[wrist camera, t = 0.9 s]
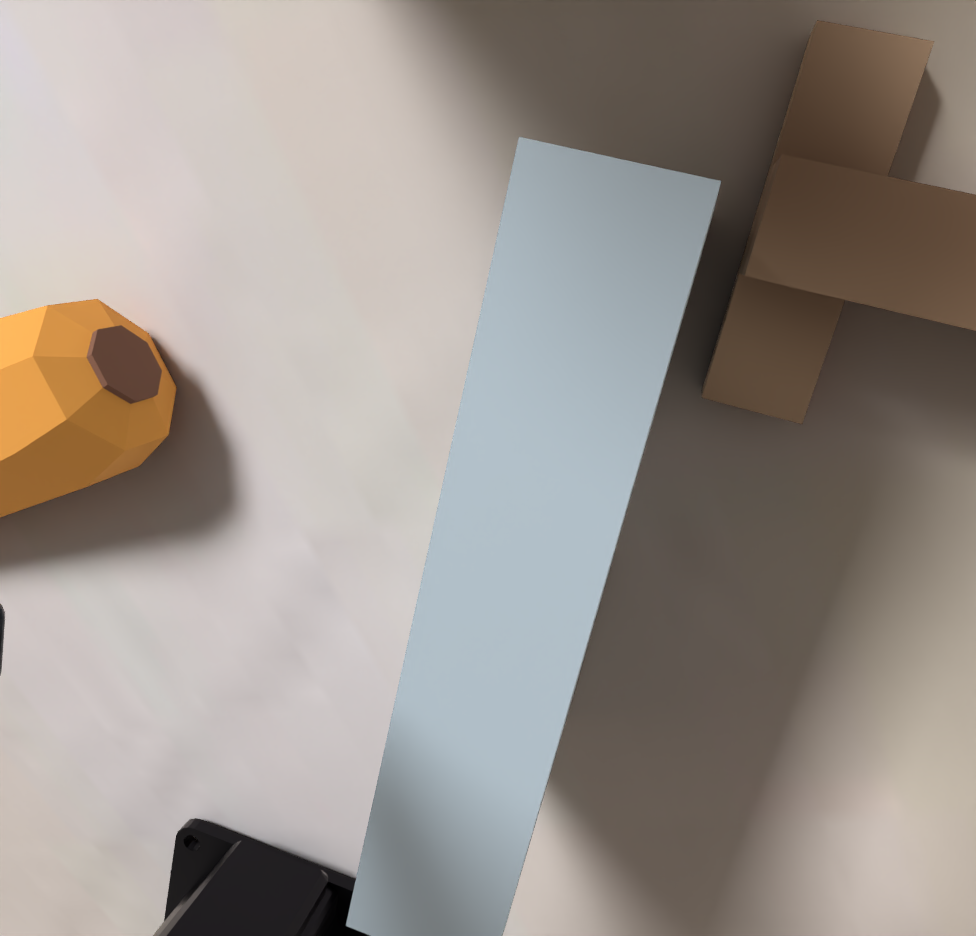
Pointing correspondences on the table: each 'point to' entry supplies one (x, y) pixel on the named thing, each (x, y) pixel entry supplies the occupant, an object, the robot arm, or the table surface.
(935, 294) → the walnut crossed blocks
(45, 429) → the carrot
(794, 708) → the table surface
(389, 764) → the pale blue flat block
